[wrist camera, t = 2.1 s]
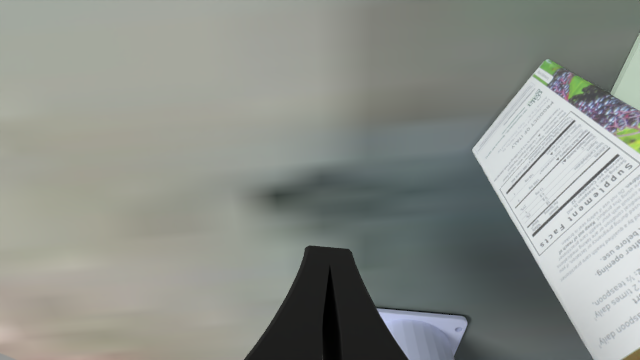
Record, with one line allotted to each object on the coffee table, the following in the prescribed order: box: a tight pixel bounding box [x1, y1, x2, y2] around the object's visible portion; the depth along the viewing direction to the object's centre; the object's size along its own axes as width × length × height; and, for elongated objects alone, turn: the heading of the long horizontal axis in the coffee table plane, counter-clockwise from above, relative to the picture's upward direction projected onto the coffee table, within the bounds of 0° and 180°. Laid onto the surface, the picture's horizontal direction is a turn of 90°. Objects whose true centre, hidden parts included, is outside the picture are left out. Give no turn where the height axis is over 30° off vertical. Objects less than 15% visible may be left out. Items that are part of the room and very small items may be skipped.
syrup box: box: [472, 59, 640, 360], centre depth 14 cm, size 6×6×14 cm
